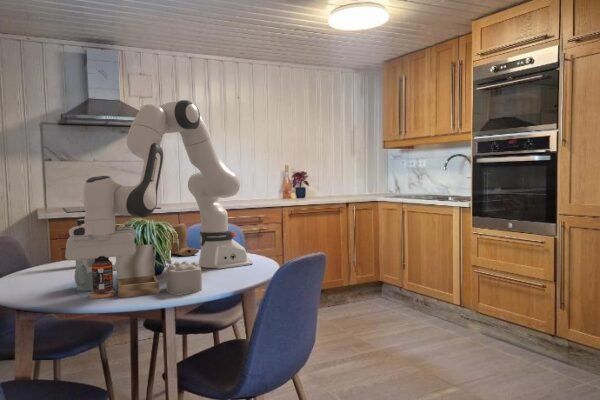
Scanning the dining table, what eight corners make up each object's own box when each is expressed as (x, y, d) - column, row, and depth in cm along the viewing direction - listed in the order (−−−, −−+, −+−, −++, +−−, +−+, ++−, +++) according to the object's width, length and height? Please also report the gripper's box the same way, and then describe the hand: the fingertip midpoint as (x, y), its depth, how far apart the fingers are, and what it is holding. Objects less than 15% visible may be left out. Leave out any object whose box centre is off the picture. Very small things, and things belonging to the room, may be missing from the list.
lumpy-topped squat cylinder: (172, 295, 144) (171, 268, 144) (163, 287, 156) (162, 261, 155) (204, 291, 149) (204, 264, 149) (193, 283, 161) (192, 258, 160)
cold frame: (153, 282, 162) (152, 244, 161) (159, 293, 147) (157, 250, 147) (116, 286, 157) (115, 246, 157) (118, 297, 143) (117, 253, 142)
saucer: (115, 291, 150) (115, 288, 150) (116, 296, 144) (116, 294, 143) (89, 294, 147) (89, 291, 147) (89, 299, 140) (89, 297, 140)
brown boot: (161, 254, 221) (160, 223, 220) (184, 251, 229) (183, 221, 228) (176, 258, 210) (175, 225, 209) (200, 255, 218) (199, 223, 217)
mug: (86, 283, 162) (85, 255, 161) (111, 284, 161) (110, 255, 160) (62, 293, 148) (61, 263, 148) (89, 294, 147) (88, 263, 147)
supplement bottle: (106, 293, 142) (103, 256, 141) (89, 293, 143) (86, 256, 142) (117, 288, 148) (115, 253, 147) (100, 288, 149) (98, 253, 148)
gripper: (134, 225, 151) (136, 266, 152) (65, 229, 143) (67, 273, 144) (136, 226, 146) (138, 270, 146) (63, 231, 138) (65, 277, 138)
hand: (102, 271), depth 145 cm, fingers closed on supplement bottle, 6 cm apart
